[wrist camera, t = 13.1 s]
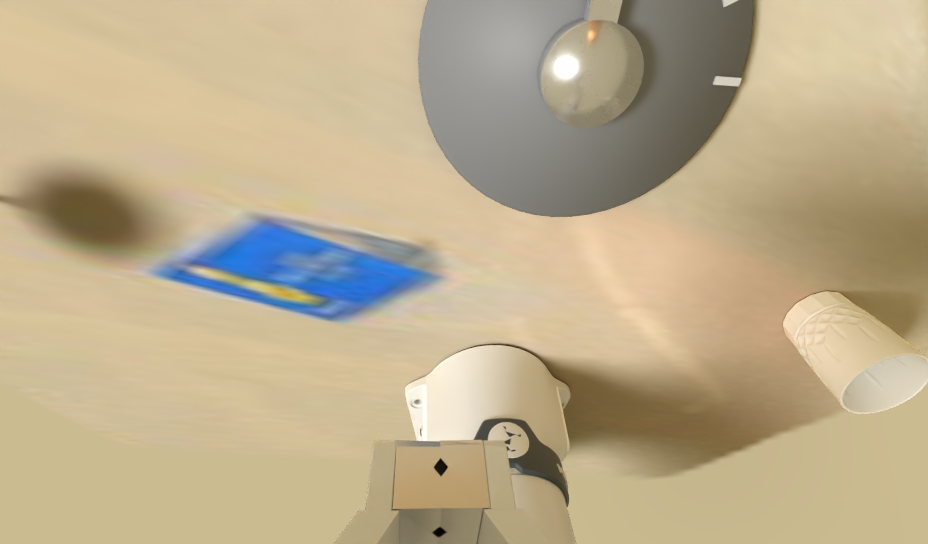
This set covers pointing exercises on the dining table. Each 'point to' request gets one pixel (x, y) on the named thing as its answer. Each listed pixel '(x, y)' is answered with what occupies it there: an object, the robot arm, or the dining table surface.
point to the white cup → (855, 353)
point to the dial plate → (545, 136)
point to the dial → (591, 67)
